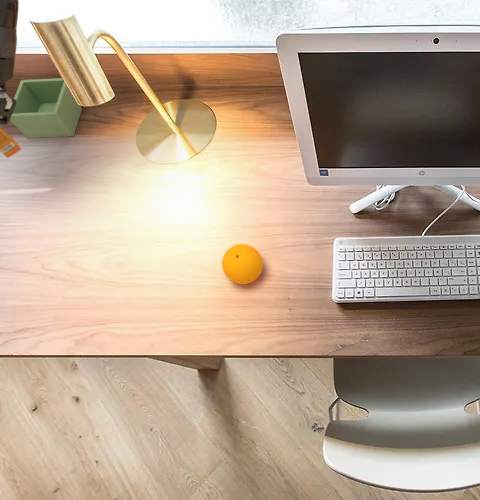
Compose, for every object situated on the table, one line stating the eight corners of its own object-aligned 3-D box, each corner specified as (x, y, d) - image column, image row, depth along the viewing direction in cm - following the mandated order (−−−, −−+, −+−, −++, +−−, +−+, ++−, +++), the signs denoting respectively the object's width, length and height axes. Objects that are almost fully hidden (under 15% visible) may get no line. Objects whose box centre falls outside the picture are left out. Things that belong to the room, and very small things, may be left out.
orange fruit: (273, 265, 101) (266, 248, 94) (249, 296, 98) (240, 280, 91) (243, 247, 103) (234, 229, 97) (219, 276, 100) (208, 260, 94)
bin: (27, 138, 120) (6, 116, 113) (39, 102, 125) (21, 79, 119) (73, 136, 120) (56, 114, 113) (84, 100, 125) (68, 77, 118)
